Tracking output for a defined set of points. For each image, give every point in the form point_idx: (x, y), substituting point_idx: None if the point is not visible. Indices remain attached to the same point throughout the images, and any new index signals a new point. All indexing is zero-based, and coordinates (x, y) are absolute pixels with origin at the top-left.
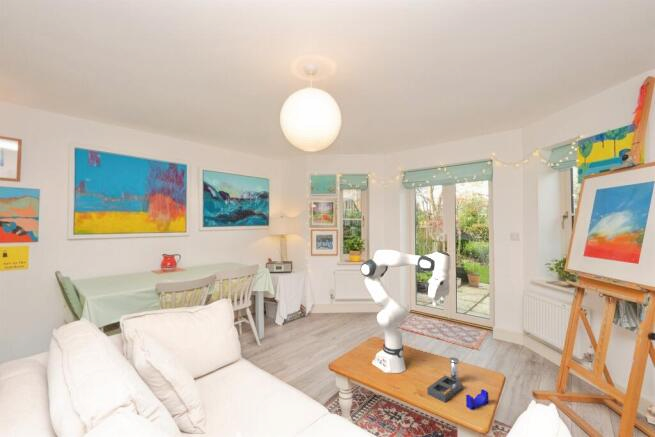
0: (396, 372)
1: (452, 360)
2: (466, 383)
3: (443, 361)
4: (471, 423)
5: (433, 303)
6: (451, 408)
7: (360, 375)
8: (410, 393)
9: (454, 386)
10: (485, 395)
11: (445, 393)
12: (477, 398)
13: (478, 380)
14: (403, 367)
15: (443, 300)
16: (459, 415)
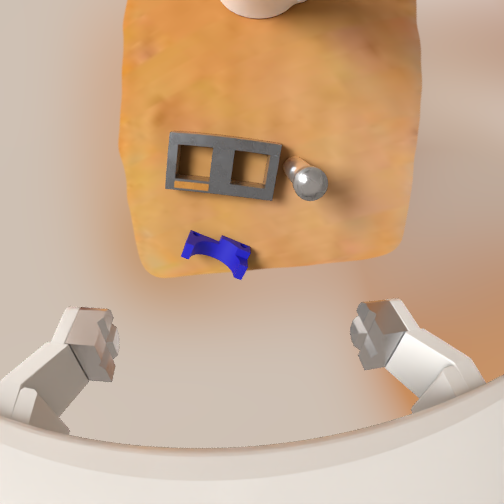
0: (225, 5)
1: (298, 182)
2: None
3: (398, 104)
4: (140, 256)
5: (63, 338)
6: (157, 205)
7: None
8: (145, 93)
9: (232, 191)
10: (233, 272)
11: (175, 186)
12: (229, 248)
13: (341, 218)
14: (256, 12)
15: (383, 366)
16: (146, 229)
